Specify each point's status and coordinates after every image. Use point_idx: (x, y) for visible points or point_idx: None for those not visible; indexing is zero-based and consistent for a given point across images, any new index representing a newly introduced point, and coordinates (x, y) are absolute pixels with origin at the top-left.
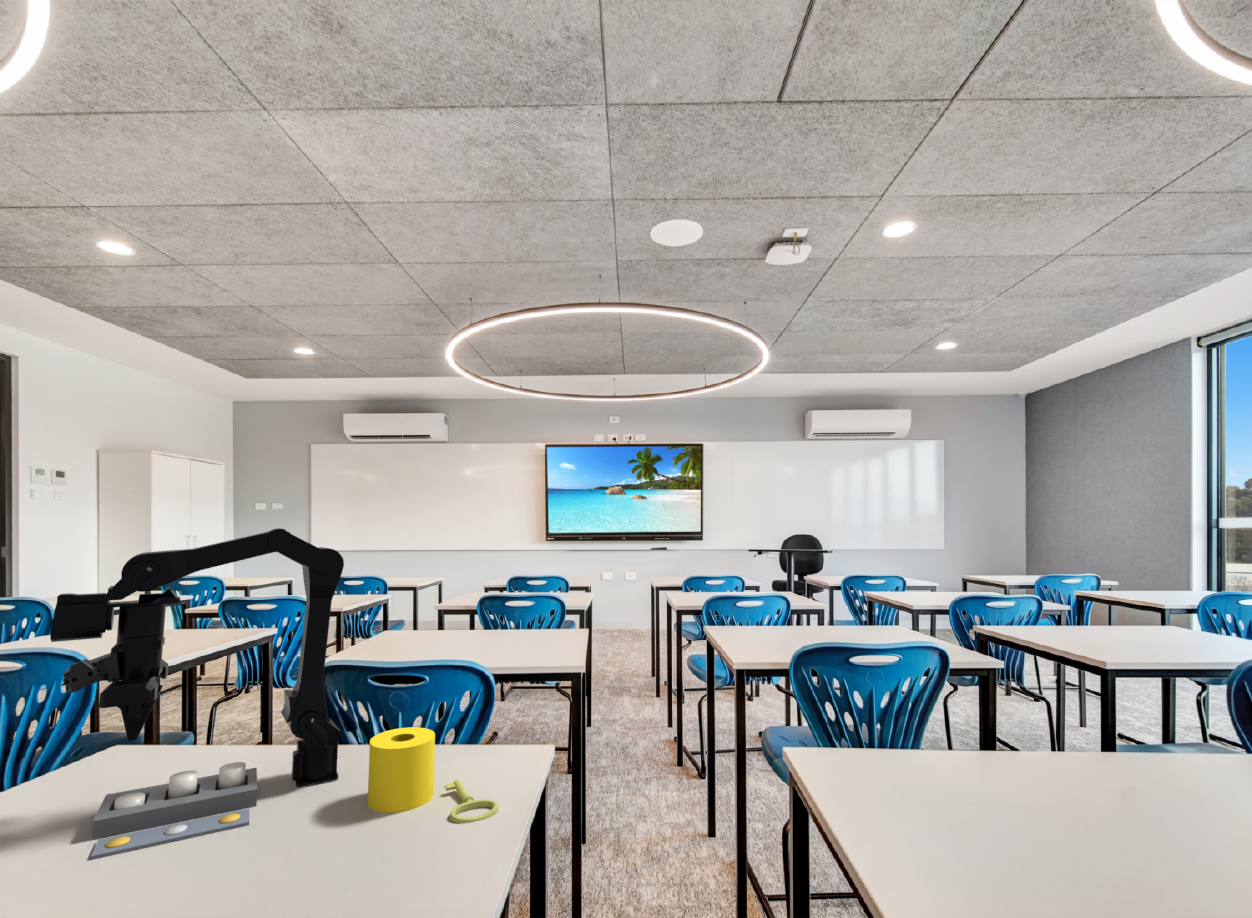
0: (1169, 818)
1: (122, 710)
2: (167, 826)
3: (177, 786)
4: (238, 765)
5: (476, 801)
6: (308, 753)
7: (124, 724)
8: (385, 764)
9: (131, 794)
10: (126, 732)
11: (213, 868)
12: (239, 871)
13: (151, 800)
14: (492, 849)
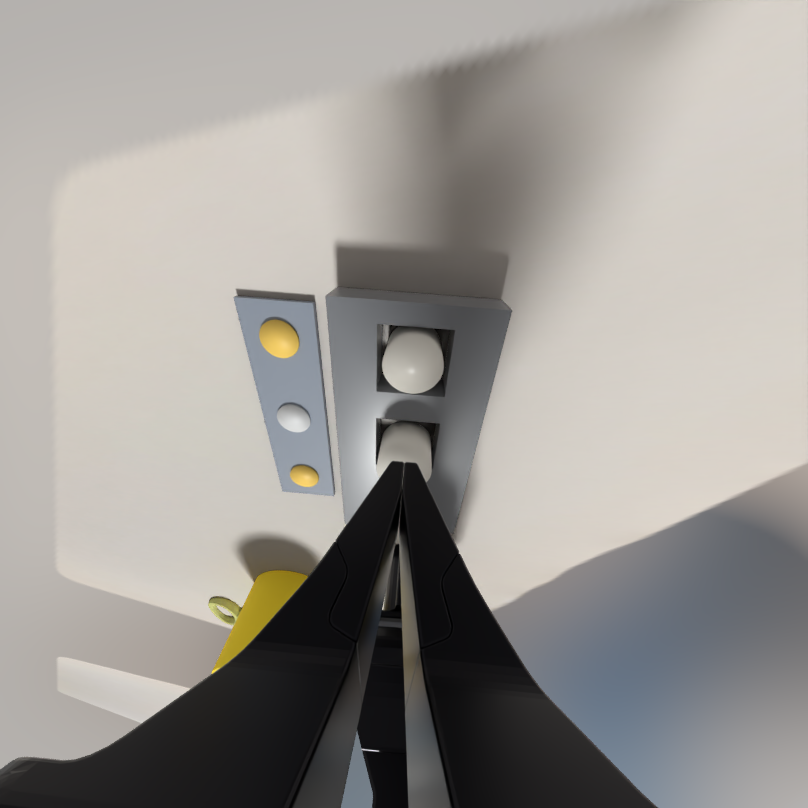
0: (132, 713)
1: (259, 635)
2: (318, 407)
3: (380, 451)
4: (397, 536)
5: (235, 619)
6: (389, 597)
7: (350, 522)
8: (229, 640)
9: (434, 368)
10: (373, 487)
11: (158, 447)
12: (144, 467)
13: (390, 399)
14: (151, 598)
